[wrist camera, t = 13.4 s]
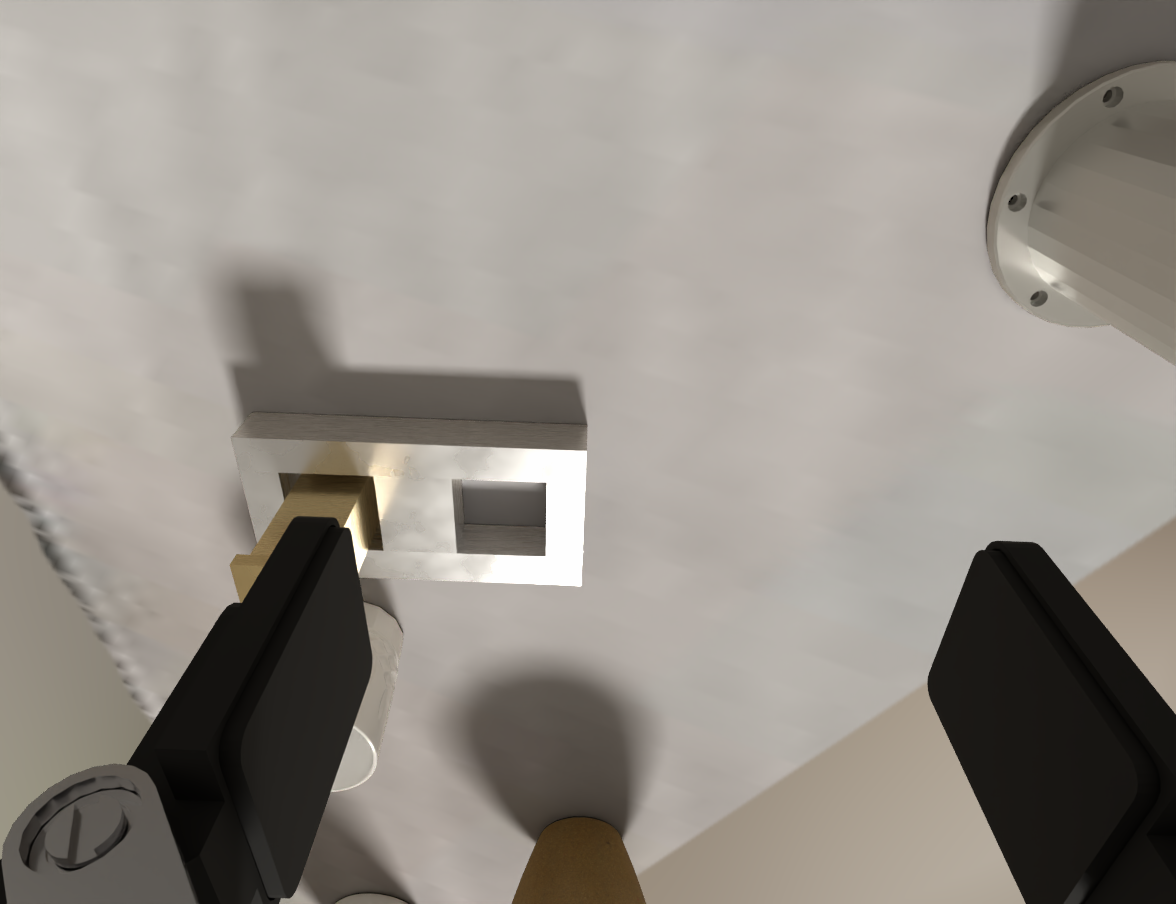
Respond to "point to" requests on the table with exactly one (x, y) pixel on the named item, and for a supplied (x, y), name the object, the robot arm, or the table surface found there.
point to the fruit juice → (370, 899)
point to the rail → (430, 489)
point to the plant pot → (579, 866)
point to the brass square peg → (315, 498)
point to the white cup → (372, 701)
